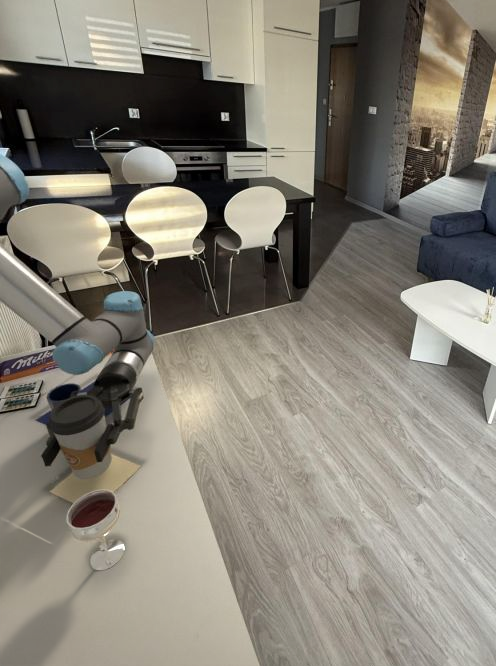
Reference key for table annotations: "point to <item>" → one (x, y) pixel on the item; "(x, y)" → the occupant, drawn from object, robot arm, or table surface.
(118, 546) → the wineglass
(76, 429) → the coffee cup
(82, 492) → the cream mat
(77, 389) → the navy tumbler
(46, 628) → the table surface
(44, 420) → the navy mat
